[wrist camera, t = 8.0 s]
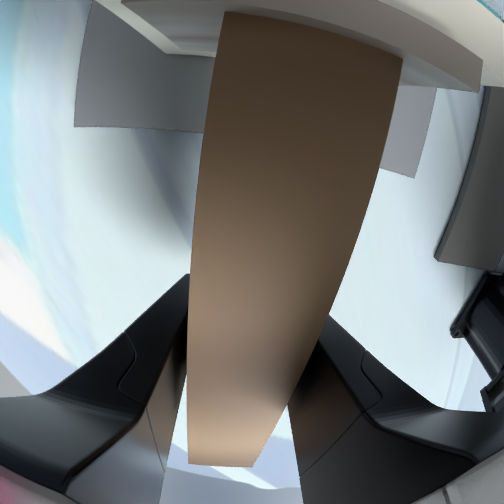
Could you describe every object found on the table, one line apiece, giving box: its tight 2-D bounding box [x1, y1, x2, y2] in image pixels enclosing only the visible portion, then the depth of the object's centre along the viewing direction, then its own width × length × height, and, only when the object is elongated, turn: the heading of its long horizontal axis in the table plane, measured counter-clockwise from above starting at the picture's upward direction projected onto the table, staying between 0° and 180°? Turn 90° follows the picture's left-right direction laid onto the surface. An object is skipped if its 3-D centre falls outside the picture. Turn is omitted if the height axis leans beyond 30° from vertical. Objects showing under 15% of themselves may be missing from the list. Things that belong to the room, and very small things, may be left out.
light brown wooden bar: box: [121, 0, 483, 467], centre depth 7 cm, size 14×5×4 cm, turn 170°
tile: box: [95, 0, 504, 87], centre depth 6 cm, size 2×8×8 cm, turn 80°
